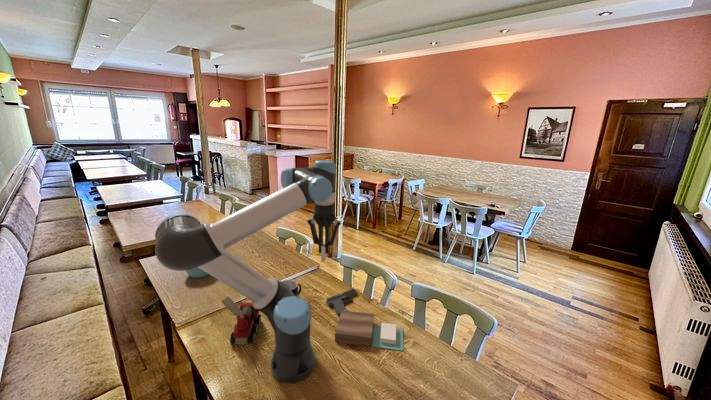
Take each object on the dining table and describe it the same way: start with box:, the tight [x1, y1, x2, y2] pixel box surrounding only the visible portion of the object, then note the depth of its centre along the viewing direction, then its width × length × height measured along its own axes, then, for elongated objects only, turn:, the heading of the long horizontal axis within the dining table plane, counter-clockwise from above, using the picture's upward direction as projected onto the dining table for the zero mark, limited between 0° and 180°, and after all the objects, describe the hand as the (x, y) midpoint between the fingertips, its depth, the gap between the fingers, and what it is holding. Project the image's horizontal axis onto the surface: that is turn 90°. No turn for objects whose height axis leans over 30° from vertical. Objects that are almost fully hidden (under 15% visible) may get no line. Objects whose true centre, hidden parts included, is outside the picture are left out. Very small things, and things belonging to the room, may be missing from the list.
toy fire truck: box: [221, 295, 262, 345], centre depth 111 cm, size 11×16×18 cm
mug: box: [281, 279, 302, 297], centre depth 132 cm, size 12×9×10 cm
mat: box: [371, 324, 405, 352], centre depth 114 cm, size 12×12×1 cm
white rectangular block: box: [380, 322, 397, 345], centre depth 115 cm, size 9×6×2 cm, turn 172°
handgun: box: [325, 288, 358, 317], centre depth 135 cm, size 3×18×12 cm
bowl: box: [185, 267, 209, 279], centre depth 153 cm, size 16×16×8 cm
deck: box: [334, 310, 375, 348], centre depth 116 cm, size 14×14×4 cm
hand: (323, 260), depth 112 cm, fingers closed
